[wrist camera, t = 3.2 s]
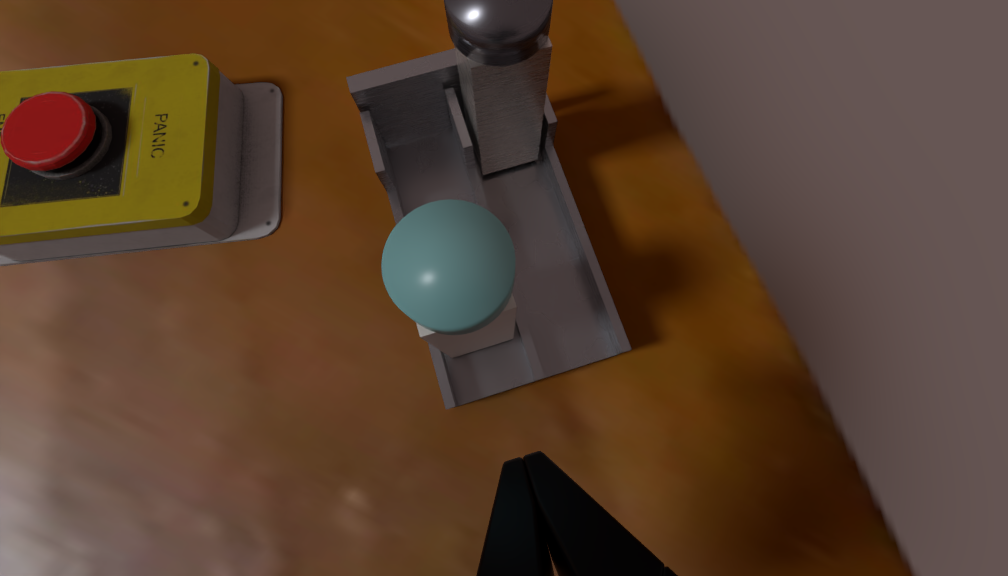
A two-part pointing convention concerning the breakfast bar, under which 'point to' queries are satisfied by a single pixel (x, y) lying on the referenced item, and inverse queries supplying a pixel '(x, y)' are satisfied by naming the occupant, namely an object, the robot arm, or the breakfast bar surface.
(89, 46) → the breakfast bar surface
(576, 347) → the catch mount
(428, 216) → the plunger
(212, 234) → the emergency button
